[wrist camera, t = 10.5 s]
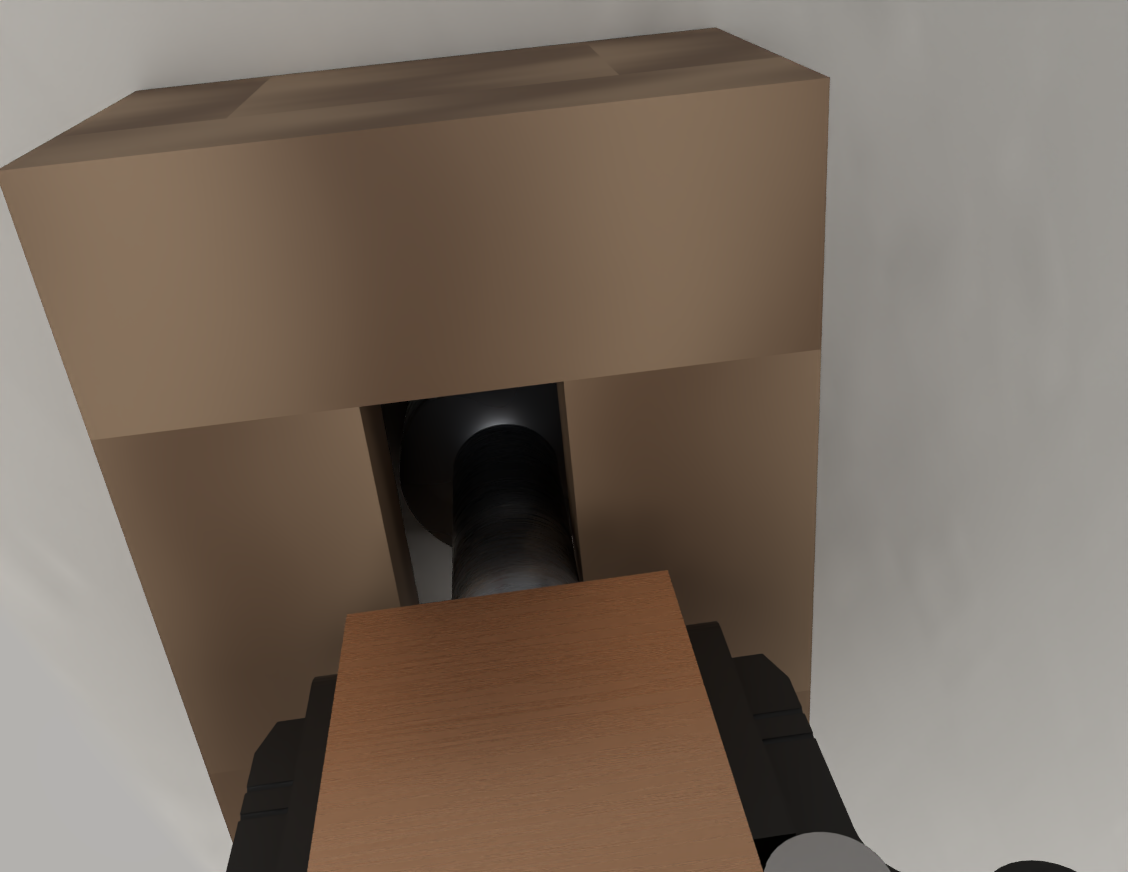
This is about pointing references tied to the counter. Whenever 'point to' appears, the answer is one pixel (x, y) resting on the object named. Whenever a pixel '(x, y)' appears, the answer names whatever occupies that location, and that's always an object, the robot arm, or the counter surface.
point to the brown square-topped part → (520, 685)
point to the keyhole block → (440, 334)
